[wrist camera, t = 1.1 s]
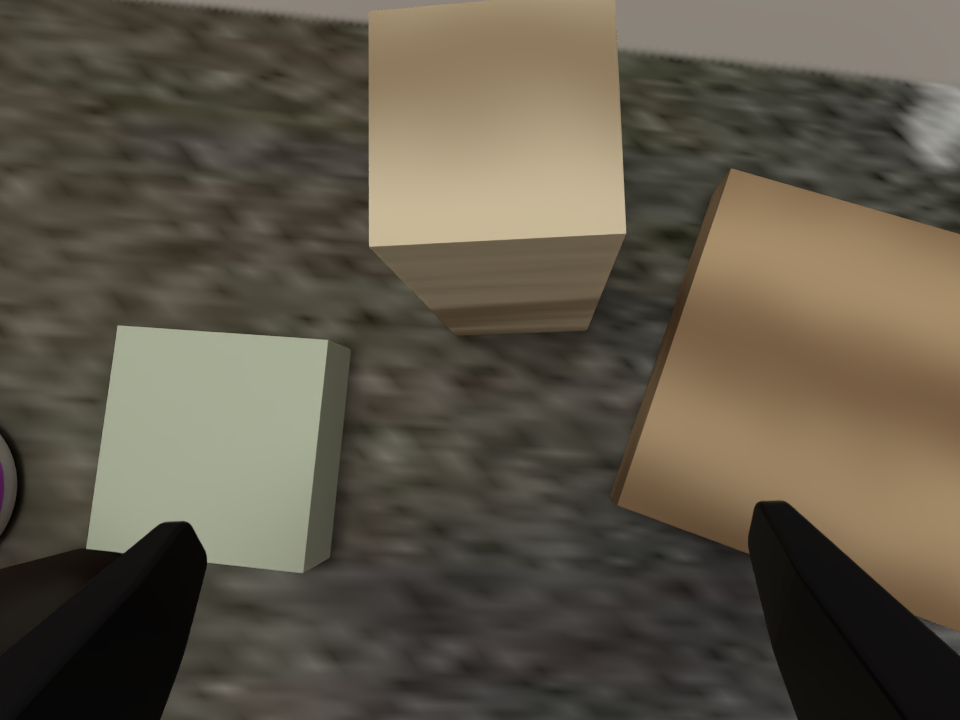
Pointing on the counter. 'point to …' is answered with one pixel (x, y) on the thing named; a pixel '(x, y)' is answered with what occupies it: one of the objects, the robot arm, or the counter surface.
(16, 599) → the vinegar
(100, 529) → the sage block
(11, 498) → the supplement bottle
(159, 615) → the robot arm
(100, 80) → the counter surface
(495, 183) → the beech post
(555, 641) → the counter surface
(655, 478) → the oak block
